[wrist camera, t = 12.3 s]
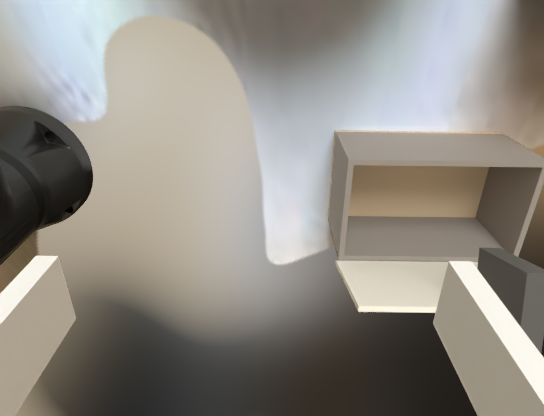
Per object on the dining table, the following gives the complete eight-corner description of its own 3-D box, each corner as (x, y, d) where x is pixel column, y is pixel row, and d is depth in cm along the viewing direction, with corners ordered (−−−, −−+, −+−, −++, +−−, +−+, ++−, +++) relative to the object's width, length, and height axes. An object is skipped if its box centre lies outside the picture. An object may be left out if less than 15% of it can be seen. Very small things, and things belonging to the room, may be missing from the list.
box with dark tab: (337, 216, 44) (335, 268, 46) (381, 271, 26) (375, 356, 27) (524, 219, 44) (518, 271, 45) (698, 275, 26) (681, 360, 27)
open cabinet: (328, 217, 54) (338, 260, 45) (335, 130, 49) (348, 159, 40) (476, 219, 54) (516, 262, 45) (500, 132, 49) (550, 161, 40)
